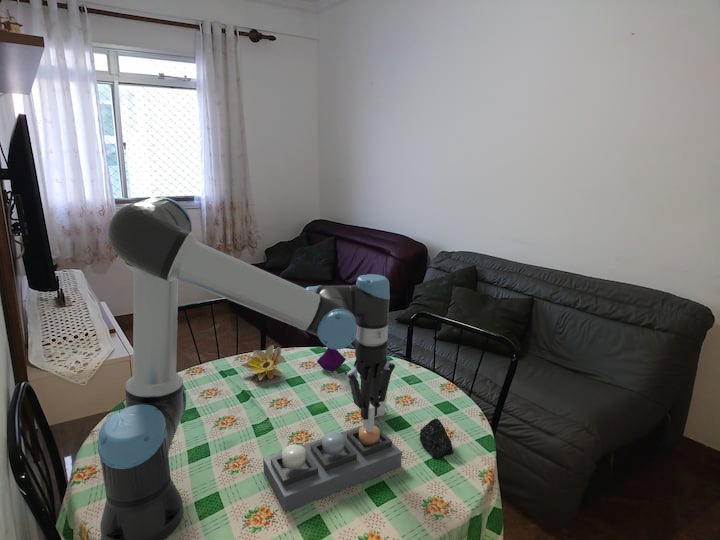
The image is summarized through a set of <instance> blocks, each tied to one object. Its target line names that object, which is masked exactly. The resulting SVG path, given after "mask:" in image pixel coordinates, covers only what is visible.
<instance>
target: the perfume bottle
mask: <svg viewBox="0 0 720 540" xmlns="http://www.w3.org/2000/svg"><path fill="white" fill-rule="evenodd" d="M346 360H347V359H346V357H344V355H342V354H341V352H339V349H330V348H328V347H326V350H325V351H324V352H323V354H322V355H321V356H320V357H319V358H318V359H317V360H316V363H317V364H318V365H319V366H320V367H321V368H322V370H324V371H328V372H331V373H334V372H336V371H337V370H338V369H340V368H341V367H342V365H343V364H344V363H345V361H346Z"/></svg>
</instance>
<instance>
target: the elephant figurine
mask: <svg viewBox="0 0 720 540" xmlns="http://www.w3.org/2000/svg"><path fill="white" fill-rule="evenodd" d="M360 393H361V390H360ZM387 395H388V392H387V393H386V397H385V400H384V401H383V402H379V404H380V407H378V408H377V416H375V417H374V419H375V418H377V417H382V416H385V414H386V412H387V415H388V416H389V415H390V414H389V407H388V405H387V404H386V403H387V397H388V396H387ZM358 409H359V411H360V412H361V408H359V407H358Z"/></svg>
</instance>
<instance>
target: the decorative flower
mask: <svg viewBox="0 0 720 540" xmlns="http://www.w3.org/2000/svg"><path fill="white" fill-rule="evenodd" d="M274 347H275V346H274V345H273V344H271V345H269V346H268V347H267V348H266V350H265V351H263V350H257V349H255V350H254V351H253V352H252V356H251V357H249V358H248V360H247V361H246V362H244V363H242V364H240V365H239V366H240V367H242V368H245V369H248V371H249V372H250V373H252V374H254V375H257V377H258V380H259V381H261V380H262V379H263V378H264V377H265V376H266V375H267V377H268V379H270V380H272V379H273V378H274V375H275V376H278V377H279V376H282V375H283V374H284V373H283V372H282V371H280V370H279V369H277V366H279V365H281V364H282V363H284V362H285V361H286V358H285V357H284V356H283V355H282V348H281V347H280V346H278V347H276V348H275V349H274Z"/></svg>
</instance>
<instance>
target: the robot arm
mask: <svg viewBox="0 0 720 540" xmlns="http://www.w3.org/2000/svg"><path fill="white" fill-rule="evenodd" d="M192 229H193V225H192V219H191V216H190V214H189V212H188V210H187V208H185V207H184V206H183V205H182V204H180V202H178V201H176V200H174V199H172V198H169V197H164V196H150V197H146V198H144V199H142V200H140V201H137V202H133V203H130V204H126V205H125V206H123V207H122V208H120V209H119V210H118V211H117V212H116V213H115V214H114V215H113V217H112V218H111V221H110V222H109V225H108V229H107V230H108V241H109V243H110V246H111V248H112V250H113V251H114V253H115V254H116V255H117V256H118V258H120V259H121V260H122V261H124V264H125V266H126V267H128V269H130V270H131V271H132V272H133V273H132V274H133V283H132V284H133V289H132V292H133V295H132V296H133V297H132V298H133V301H132V302H133V304H132V305H133V306H132V307H133V309H132V310H133V311H132V312H133V315H132V317H133V325H132V326H133V329H132V330H133V333H132V335H133V338H132V339H133V341H132V342H133V345H132V346H133V352H132V353H133V354H132V355H133V358H132V361H133V367H132V368H133V374H132V376H131V377H130V378H129V379H127V380H126V382H125V405H124V406H125V407H124V408H122V409H119V410H118V412H117V413H115V412H113V414H111V415H110V416H109V417H107V419H106V420H105V421H104V422H103V423H102V425H101V427H100V429H99V431H98V436H97V439H98V440H97V452H98V456H99V459H100V466H101V471H102V472H101V473H102V477H103V479H102V480H103V483H104V490H105V491H104V492H105V496H106V501H105V504H104V507H103V508H104V509H103V512H102V516H101V520H100V526H99V527H100V528H99V529H100V536H101V539H102V540H165V539H166V538H168V537H169V536H170V535H171V534H172V533H173V532H174V531H175V530H176V529H177V527H178V526H179V525H180V523H181V521H182V519H183V516H184V515H183V514H184V504H183V498H182V495H181V493H180V492H179V490H178V489H177V487H176V485H175V484H174V482H173V480H172V479H171V478H172V477H171V468H170V460H169V458H170V457H169V453H170V448H171V445H172V443H173V440H174V438H175V434H176V432H177V431H178V430H177V429H178V427H179V424H180V422H181V419H182V418H183V417H184V415H185V414H184V413H185V411H186V408H187V393H186V390H185V388H184V380H183V379H184V378H183V376H182V375H181V374H179V373H178V372H177V354H178V353H177V352H178V351H177V347H178V346H177V345H178V342H177V341H178V311H179V310H178V307H179V305H178V304H179V281H182V282H185V283H187V284H189V285H191V286H195V287H197V288H199V289H202V290H205V291H206V292H208V293H211V294H214V295H216V296H219V297H221V298H224V299H226V300H228V301H231V302H234V303H236V304H238V305H242V306H244V307H246V308H249V309H251V310H253V311H256V312H258V313H260V314H263V315H265V316H268V317H270V318H273V319H275V320H278V321H280V322H283V323H286V324H287V325H290V326H293V327H296V328H297V329H299V330H302V331H305V332H307V333H309V334H312V335H314V336H316V337H318V339H319V340H320V342H321V344H322V345H324V346H325V347H326V348H327V347H328V348H330V349H337V350H343V349H346V348H347V347H349V346H350V345H351V344H353V342H354V341H355V344H354V345H355V349H354V350H355V353H354V355H355V362H353V363H354V364H353V367H352V368H351V369H350V370H346V371H345V373H344V375H345V376H346V377H347V379H348V383H349V387H350V391H351V395H352V401H353V403H354V405H356V406H357V408H358V409H359V408H361V411H360V416H361V418H362V419H363V420H362V421H363V423H362V425H363V427H364V428H365V429H366V430H367V431H368V432H372V431H374V424H375V418H376V417H375V416H377V408H378V407H380V404H379V402H383V401H384V400H385V397H386V393H387V394H388V392H387V391H388V388H389V384H390V380H391V376H392V373H393V371H394V369H395V368H396V364H395V363H393V362H391V361H390V360H389V359H387V355H388V336H389V333H388V332H389V312H390V311H389V310H390V299H391V295H390V294H391V293H390V281H389V279H388V278H387V277H386V276H384V275H381V274H377V273H376V274H373V273H371V274H370V273H367V274H361V275H359V276H358V277H357V278H356V282H355V284H352V285H350V284H349V285H320V284H319V285H315V286H307V287H303V286H301V285H298V284H296V283H293V282H291V281H289V280H286V279H284V278H282V277H279V276H277V275H276V274H273V273H271V272H268V271H266V270H264V269H263V268H262V269H261V268H260V267H257V266H255V265H252V264H250V263H247V262H246V261H243V260H240V259H238V258H236V257H235V256H232V255H229V254H227V253H225V252H224V251H223V252H222V251H221V250H218V249H215V248H213V247H211V246H210V245H206V244H204V243H202V242H199V241H197V239H196V238H195V236H194V233H193V232H192V231H193V230H192ZM358 375H359V376H358ZM358 378H360V384H359V380H358ZM360 391H361V393H360ZM374 417H375V418H374Z"/></svg>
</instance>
